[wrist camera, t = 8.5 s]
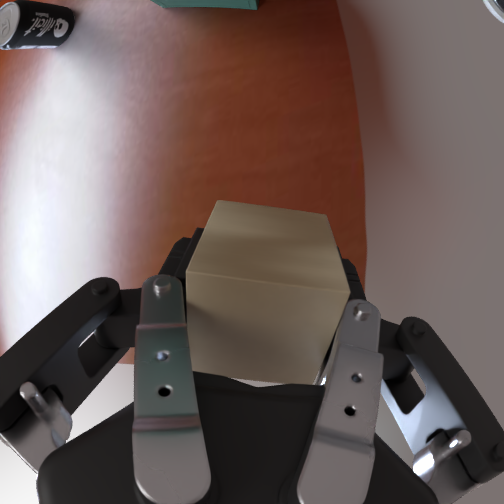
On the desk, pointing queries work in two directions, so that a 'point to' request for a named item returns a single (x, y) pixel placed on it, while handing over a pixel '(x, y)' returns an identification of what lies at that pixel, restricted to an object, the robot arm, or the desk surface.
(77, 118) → the desk surface
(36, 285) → the desk surface
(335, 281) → the block
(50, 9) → the beverage can
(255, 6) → the chest
